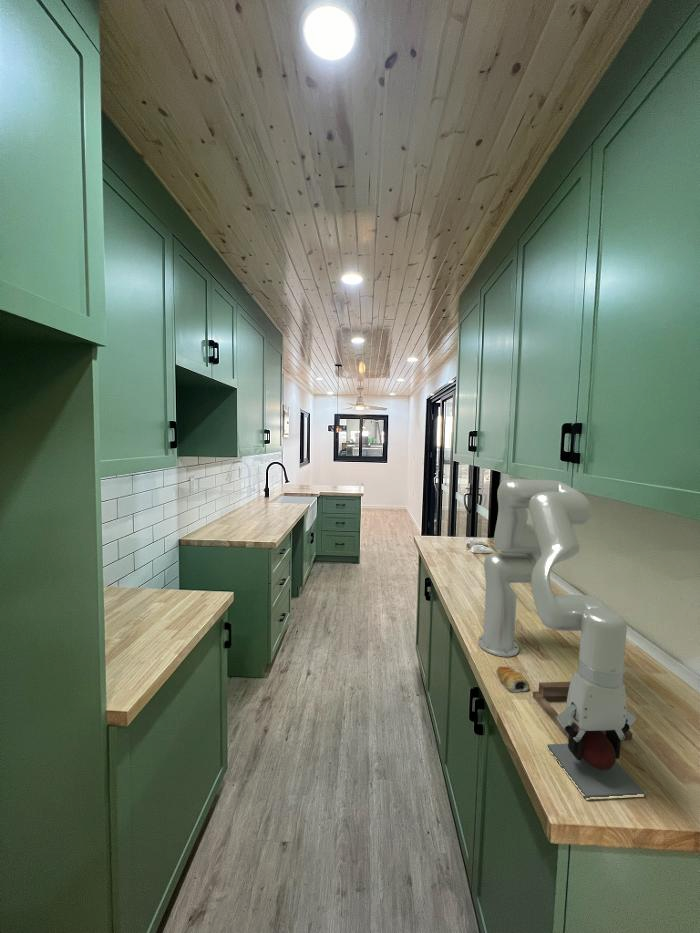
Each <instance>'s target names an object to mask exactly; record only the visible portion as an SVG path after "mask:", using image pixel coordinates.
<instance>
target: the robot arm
mask: <svg viewBox="0 0 700 933" xmlns="http://www.w3.org/2000/svg"><path fill="white" fill-rule="evenodd" d="M496 494H497V496H496V497H497V505H498V512H497V517H496V518H497V520H496V524H495V530H494V536H493V544H494V547H495V549H496V550H497V551H498V552H492V553H489V554H488V555H487V556H486V557H485V559H484V561H483V569H484V577H485V594H484V595H485V596H484V597H485V598H484V599H485V600H484V613H483V614H484V615H483V616H484V617H483V624H482V628H483V633H482V635H480V636H479V637H478V638H477V639H478V640H477V643H478V646H479V647H480V648H481V649H482V650H484V651H485V652H487V653H489V654H491V655H494V656H498V657H503V658H504V657H505V658H507V657H508V658H509V657H510V658H511V657H514V656H517V654H519V652H520V647H519V645H518V643H517V642H516V641H515V630H516V615H517V614H516V612H517V595H516V593H515V591H514V590H513V588H512V587H511V584H530V588H531V593H532V598H533V601H534V607H535V610H536V612H537V615H538V617H539V620H540V621H541V623H542V624H543V626H545V627H546V628H547V629H549V630H553V631H559V632H560V631H561V632H564V631H570V632H580V639H579V653H578V667H577V671H574V672H573V675H572V677H571V680H570V681H569V682H570V686H569V691H568V696H567V701H566V704H565V709H564V710H562V711H561V712H560V713H558V714H559V715H557V720H558V721H559V722H560V724H561V725H562V727H563V728H564V729H565V730H566V731H567V732H568V734H569V739H568V738H567V744H568V748H569V750H570V751H571V753H572V754H573V755H574V756H575V758H576V759H577V760H581V759H582V749H583V742H582V741H581V740H580V739H581V738H582V736H583V735H584V733H585V732H586V731H601V730H606V736H607V738H608V739H609V740H610V742H611V743H612V745H613V747H614V749H615V754H616V760H618V759H620V756H621V745H622V741H624V740H623V739H624V738H625V736H624V734H625V733H626V732H627V731H628V730H630V729H631V726H632V725H633V724H634V723H635V722H636V716H634V715H633V714H632V713H631V712H630V711H629V710H628V709H627V705H628V704H627V691H626V686H625V682H624V679H623V678H624V674H625V673H627V667H625V654H626V645H627V634H628V633H627V632H628V625H627V621H626V619H624V617H622V615H620V614H618V613H616V612H614V611H612V610H611V609H610V608H609V607H608V606H607V605H606V603H605V602H604V601H603V600H602V599H600V598H599V597H597V596H594V595H589V594H588V595H586V594H585V595H584V594H559V593H558V594H554V592H553V587H552V584H551V577H550V576H551V570H552V568H553V567H554V565H556V564H559V563H561V562H563V561H567V560H569V559H571V558H573V557H575V556H576V555H577V554H579V552H580V550H581V547H580V543H579V541H578V537H577V535H576V532H575V529H574V527H573V525H574V526H577V525H578V526H582V525H585V524H587V523H589V522H590V520H591V518H592V513H593V511H592V505H591V503H590V502H589V499H588V498H587V497H586V496H585V495H584V494H583V493H582V492H580V491H578V490H577V489H575V488H573V487H572V486H569V485H568V484H566V483H564V482H563V481H559V480H552V479H529V478H527V479H525V478H523V479H522V478H514V479H513V478H512V479H504V480H502V482H501V483H499V486H498V488H497V493H496ZM528 511H529V512H528ZM529 514H530V516H531V520H532V523H528V519H529ZM576 726H578V727H579V728H578V730H577V731H576V732H575V731H574V729H575V727H576Z"/></svg>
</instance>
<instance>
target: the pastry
mask: <svg viewBox="0 0 700 933" xmlns="http://www.w3.org/2000/svg"><path fill="white" fill-rule="evenodd" d="M496 672H497V676H498V678H499V681H500V682H501V683H502V685H503V686H504V687H506V688H505V689H506V690H507V691H508V692H510V693H517V694H518V693H521V692H527V691H528V690H529V689H530V684H529V681H528V680H527V679H526V678H525V677H524V676H523V675H522V673H521V672H520V671H516V670H514V669H513V668H510V667H508V666H498V667H497V669H496Z"/></svg>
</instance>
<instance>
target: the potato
mask: <svg viewBox="0 0 700 933" xmlns="http://www.w3.org/2000/svg"><path fill="white" fill-rule="evenodd" d="M578 728H579V727H578V726H577V727H576V728H575V729H574V731H575V732H576V731H577V730H578ZM580 740H581V741H582V742H583V749H582V758H583V759H584V760H585V761H586V762H587V763H589V764H590V765H591V766H593V767H594V768H596V769H599V770H602V771H604V770H610V769H611V767H612V766H613V765H614V764H615V762H617V759H616V754H615V749H614V747H613V745H612V743H611V742H610V740H609V739H608V738H607V736H606V735H605V734H604V733H603V732H602V731H586V732H585V733H584V735H583V736H582V738H581V739H580Z"/></svg>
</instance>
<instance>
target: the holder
mask: <svg viewBox="0 0 700 933" xmlns="http://www.w3.org/2000/svg"><path fill="white" fill-rule="evenodd" d="M570 682H571V681H554V682H553V681H550V682H549V681H545V682H544V681H543V682H542V681H541V682H540V681H539V682H538V691H533V692H532V698H533V699H534V700H535V702H536V703H537V704H538V705H539V706H540V708H543V711H544V713H546V715H547V716H548V717H549V718H550V719H551V721H552V722H553V723H554V724H555V725H556V727H558V729H559V730H560V731H561V733H562V734H563V733H564V734H563V735H564V736H565V737H566V739H567V740H568V739H569V734H568V732H567V731H566V730H565V729H564V728H563V727H562V725H561V724H560V722H559V721H558V720H557V715H559V714H560V713H558V712H557V711H556V710H555V709H554V707H553V706H552V705H551V704H550V703H555V702H557V703H558V702H567V696H568V691H569V686H570ZM549 702H550V703H549ZM576 727H577V726H576ZM576 727H575V728H576ZM601 731H602V732H603V733H604V734H605V735H606V730H601ZM633 735H634V734H633V732H632V731H631V730H630V729H629V730H628V731H627V732H626V733H625V734H624V736H625V738H624V739H623V740H622V741H630V740H631V739H632V740H633Z"/></svg>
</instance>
